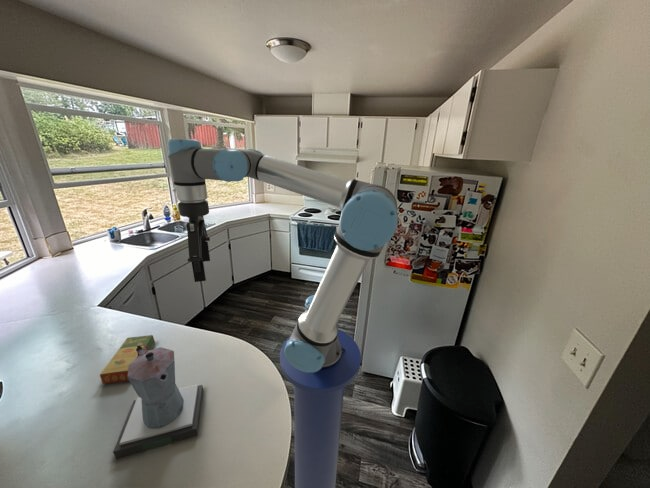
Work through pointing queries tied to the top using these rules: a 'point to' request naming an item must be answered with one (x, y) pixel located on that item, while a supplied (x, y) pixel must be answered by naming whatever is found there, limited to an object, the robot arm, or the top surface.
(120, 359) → the carton
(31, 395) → the top surface
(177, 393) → the moka pot
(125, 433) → the kitchen scale
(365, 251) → the robot arm
